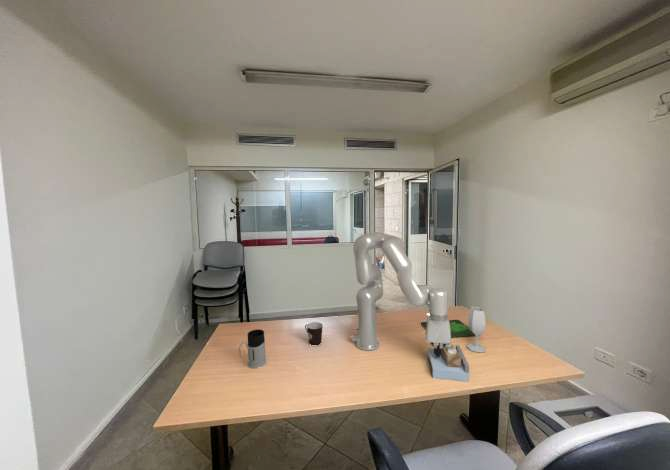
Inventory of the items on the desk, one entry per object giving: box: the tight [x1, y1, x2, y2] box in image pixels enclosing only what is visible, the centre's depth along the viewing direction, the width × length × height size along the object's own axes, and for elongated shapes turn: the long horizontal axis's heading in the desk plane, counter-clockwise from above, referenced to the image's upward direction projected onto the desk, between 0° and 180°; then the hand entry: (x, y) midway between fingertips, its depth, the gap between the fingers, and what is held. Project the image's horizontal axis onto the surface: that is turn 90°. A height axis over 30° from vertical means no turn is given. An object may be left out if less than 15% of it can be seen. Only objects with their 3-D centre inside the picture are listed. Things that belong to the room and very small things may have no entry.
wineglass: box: [466, 306, 487, 353], centre depth 134 cm, size 9×9×21 cm
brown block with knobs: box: [441, 342, 461, 368], centre depth 118 cm, size 6×12×6 cm, turn 175°
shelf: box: [427, 344, 470, 383], centre depth 118 cm, size 14×17×7 cm
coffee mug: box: [304, 321, 324, 346], centre depth 145 cm, size 12×9×10 cm
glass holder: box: [238, 329, 267, 369], centre depth 123 cm, size 9×14×15 cm, turn 149°
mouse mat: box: [420, 319, 475, 339], centre depth 157 cm, size 27×22×1 cm
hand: (437, 355), depth 119 cm, fingers closed
